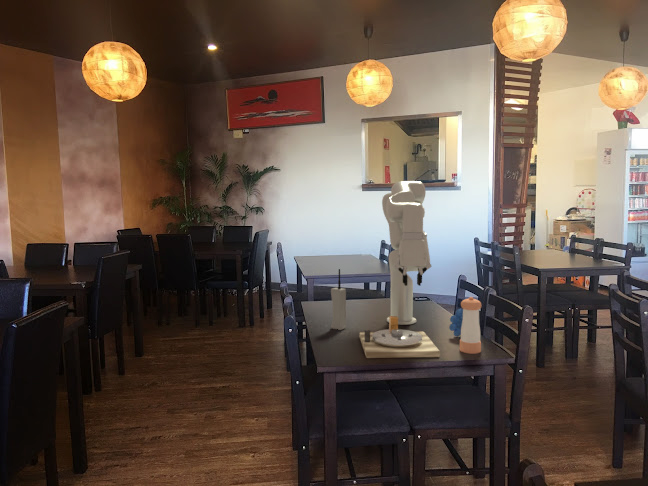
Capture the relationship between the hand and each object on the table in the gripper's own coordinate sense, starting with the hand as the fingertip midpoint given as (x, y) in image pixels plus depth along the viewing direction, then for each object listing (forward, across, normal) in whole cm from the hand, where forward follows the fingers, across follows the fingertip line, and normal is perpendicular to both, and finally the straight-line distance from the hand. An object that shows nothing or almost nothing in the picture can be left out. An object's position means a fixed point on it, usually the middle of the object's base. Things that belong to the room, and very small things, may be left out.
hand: (412, 284), depth 190 cm
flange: (+19, +7, +8) cm, 22 cm away
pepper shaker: (+22, -18, +14) cm, 31 cm away
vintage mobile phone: (+22, +27, -18) cm, 39 cm away
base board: (+21, +7, +8) cm, 24 cm away
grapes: (+22, -21, -4) cm, 30 cm away
